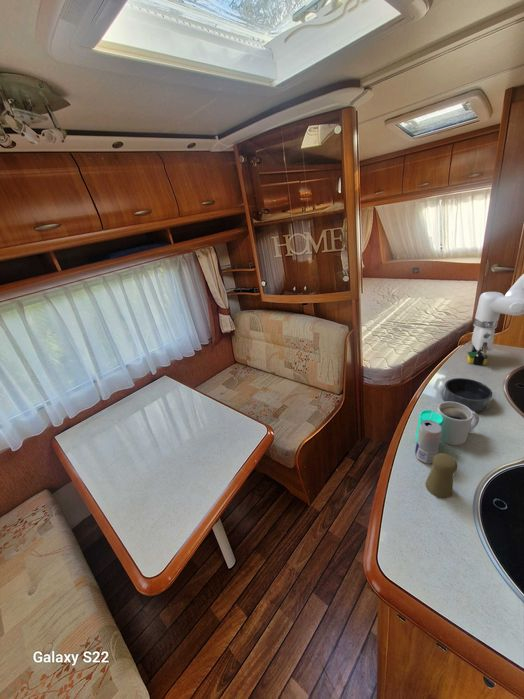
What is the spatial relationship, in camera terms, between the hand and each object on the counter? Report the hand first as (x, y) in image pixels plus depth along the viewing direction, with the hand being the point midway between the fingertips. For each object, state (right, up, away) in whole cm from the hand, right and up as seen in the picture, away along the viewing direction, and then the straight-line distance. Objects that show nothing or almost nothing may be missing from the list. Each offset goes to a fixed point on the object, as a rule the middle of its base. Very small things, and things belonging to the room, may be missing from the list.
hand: (476, 360), depth 119 cm
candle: (-43, -24, -34) cm, 60 cm away
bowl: (-20, -14, -20) cm, 32 cm away
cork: (-47, -32, -47) cm, 74 cm away
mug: (-33, -23, -33) cm, 52 cm away
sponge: (0, 0, 0) cm, 0 cm away
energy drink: (-46, -27, -38) cm, 65 cm away
